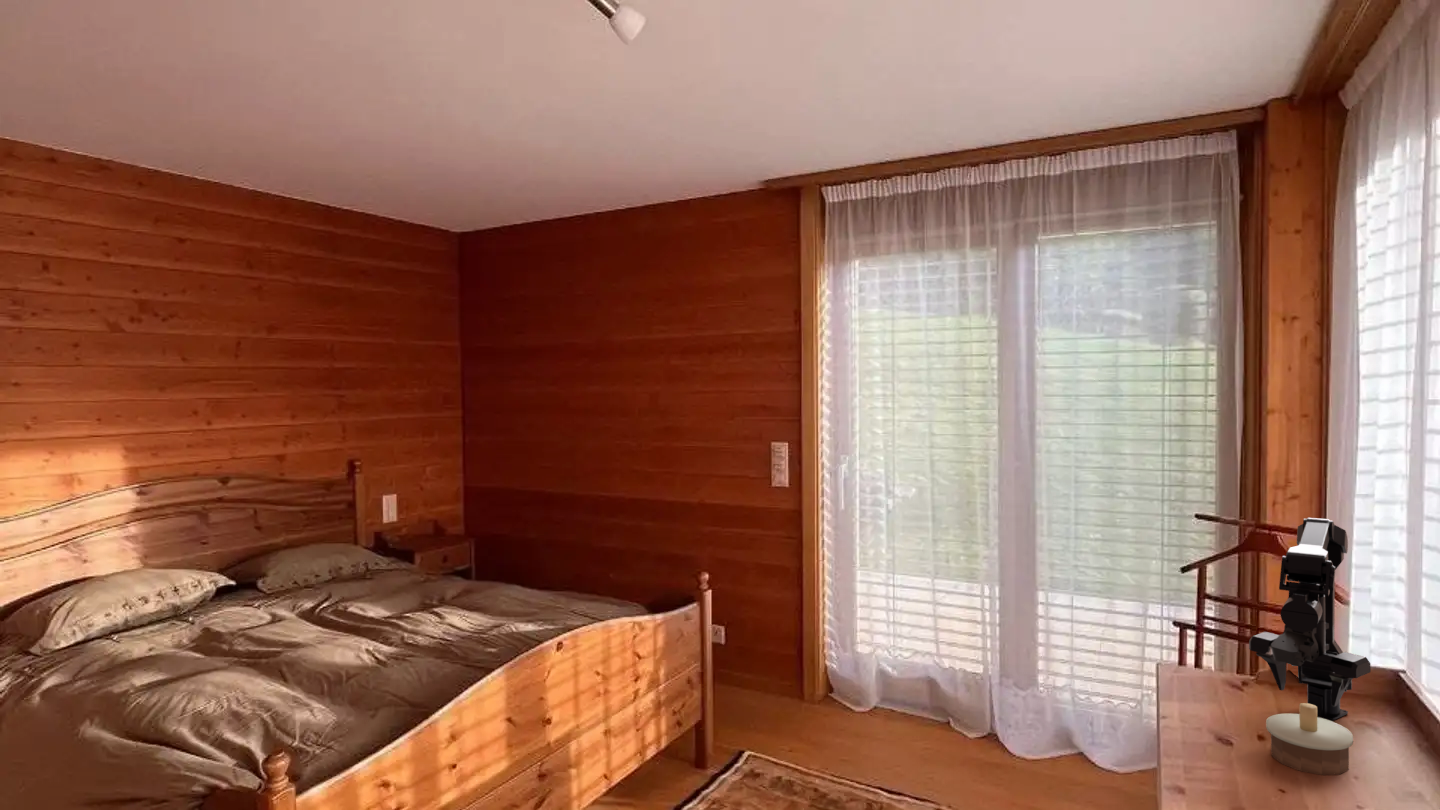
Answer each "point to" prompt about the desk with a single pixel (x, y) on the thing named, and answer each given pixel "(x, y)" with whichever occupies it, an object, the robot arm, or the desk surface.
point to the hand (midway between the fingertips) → (1307, 697)
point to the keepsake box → (1310, 758)
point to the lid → (1309, 730)
